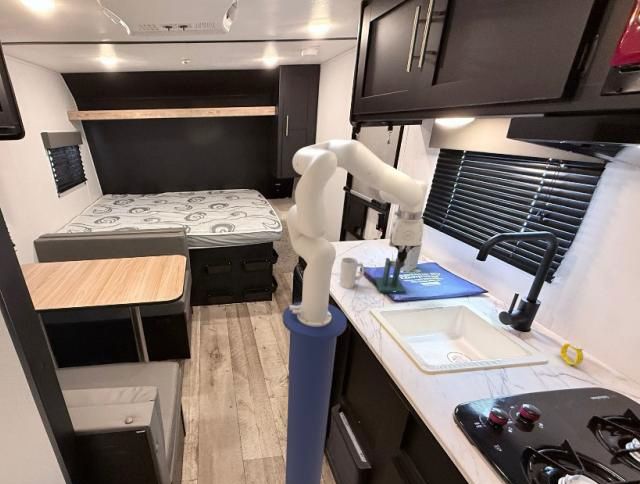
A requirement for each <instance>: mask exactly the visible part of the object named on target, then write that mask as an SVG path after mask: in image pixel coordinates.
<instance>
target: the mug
mask: <svg viewBox="0 0 640 484" xmlns="http://www.w3.org/2000/svg"><path fill="white" fill-rule="evenodd" d="M358 268H361V272H360V274H359V275H357V270H358ZM339 274H340V275H339V286H341V287H342V288H345V289H352V288H354V287H355V282H356V281H358V280H359V281H360V280H361V279H362V278H363V275H364V274H365V266H364V262H359V260H358V259H357V258H355V257H349V256H348V257H342V258H341V263H340V273H339Z"/></svg>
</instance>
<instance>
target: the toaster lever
mask: <svg viewBox="0 0 640 484" xmlns="http://www.w3.org/2000/svg"><path fill="white" fill-rule="evenodd" d="M390 261H391V266H390V268H395V267H398V268H402V267H403V266H404V265H405V263H404V262H403V261H402V262H400V261H399V260H398V261H396V260H390Z"/></svg>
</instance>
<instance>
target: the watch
mask: <svg viewBox="0 0 640 484" xmlns="http://www.w3.org/2000/svg"><path fill="white" fill-rule="evenodd" d="M568 348H570V349H572V350H574V351H575V353H576V359H575V361H574V362H572V360H571V359H570V358H569V357H568V354H567V353H568ZM583 350H584V347H583V346H582V345H581V344H579V343H576V342H570V343H564V344H563V345H562V346H561V348H560V356H561V358H562V359H563V360H564V361H565V362H566V363H567V365H570V366H579V365H581V364H582V362H583V361H584V353H583Z"/></svg>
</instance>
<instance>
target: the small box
mask: <svg viewBox="0 0 640 484" xmlns="http://www.w3.org/2000/svg"><path fill="white" fill-rule="evenodd" d="M422 244H423V242H421V244H420V246H419V247H415V248H412V249H411V250H409V252H408V253H407V258H406V259H405V262H404V263H405V265H404V266H403V267H402V268H400V271H403V272H406V273H409V272H411V271H413V270H414V269H416V268H417V267H418V263H419V259H420V255H421V254H420V253H421V249H422V246H423V245H422ZM403 249H404V246H403Z"/></svg>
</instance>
